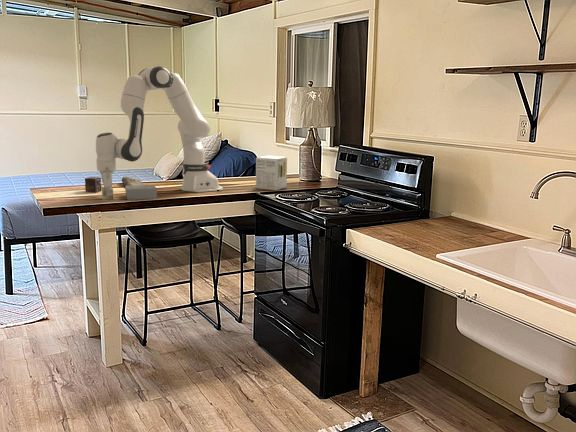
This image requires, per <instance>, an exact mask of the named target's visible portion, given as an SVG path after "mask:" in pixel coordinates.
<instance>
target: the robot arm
mask: <svg viewBox="0 0 576 432" xmlns="http://www.w3.org/2000/svg"><path fill="white" fill-rule="evenodd" d="M159 89H162V90H163V92H164V93H165V94H166V96H167V99H168V101H169V103H170V104H171V108H172V110H173V112H174V113H175V115H177V117H179V119H180V120H179V121H178V123H177V130H178V132H179V134H180V139H181V145H182V150H183V151H182V152H183V163H182V173H183V176H182V184H181V188H180V190H181V191H185V192H195V193H203V192H216V191H217V190H219V191H223V188H224V187H223V186H221V185H220V183H219V179H218V178H217V176H216V175H214V174H213V173H212V172H211V171H209V170H210V169H211V165H210V164H206V163H205V149H204V146H203V143H202V140H201V139H204V138H206V137H207V136H208V135H209V134H210V132H211V127H210V124H209V122H208V121H207V120H206V119H205V118H204V116H203V115H202V113H201V112H200V110H199V109H198V107H197V106H196V105H195V102H194V101H193V99H192V96H191V94H190V92H189V90H188V88H187V85H186V84H185V82H184V81H183V79H182V78H181V77H180V74H178V73H177V72H170V71H169V70H168V69H167V68H166V67H163V66H158V65H157V66H150V67H148V68H144V69H143V70H141V71H140V72H139V73H138V74H132V75H130V76H128V77H127V79H126V82H125V84H124V87H123V90H122V94H121V99H120V108H121V110H122V112H123V113H124V114H125V115H126V116H127V117H128V119H129V129H128V137H127V139H125V138H121V137H118V136H117V135H115V134H114V133H112V132H102V133H99V134H98V135H97V136H96V138H95V153H96V170H97V171H98V172H99V174H100V175H101V183H102V184H103V188H106V196H110V188H113V177H112V175H113V174H114V171H116V170H117V166H116V165H117V164H116V163H117V161H116V159H121V160H125V161H128V162H132V163H133V162H136V161H138V160H140V158H141V156H142V155H143V145H142V139H143V130H144V124H145V123H144V122H145V121H144V120H145V115H144V114H145V113H144V108H145V107H144V106H145V103H146V96H147V93H148V91H150V90H151V91H152V90H159ZM217 192H218V191H217Z"/></svg>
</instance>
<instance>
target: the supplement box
mask: <svg viewBox="0 0 576 432" xmlns="http://www.w3.org/2000/svg"><path fill="white" fill-rule="evenodd" d="M287 168H288V156H279V155H262V156H258V157H256V158H255V188H256V189H260V190H271V191H279V190H282V189H285V188H287V182H288V181H287V173H288V171H287V170H288V169H287Z"/></svg>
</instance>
